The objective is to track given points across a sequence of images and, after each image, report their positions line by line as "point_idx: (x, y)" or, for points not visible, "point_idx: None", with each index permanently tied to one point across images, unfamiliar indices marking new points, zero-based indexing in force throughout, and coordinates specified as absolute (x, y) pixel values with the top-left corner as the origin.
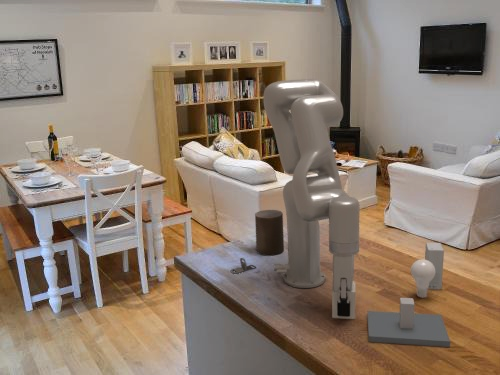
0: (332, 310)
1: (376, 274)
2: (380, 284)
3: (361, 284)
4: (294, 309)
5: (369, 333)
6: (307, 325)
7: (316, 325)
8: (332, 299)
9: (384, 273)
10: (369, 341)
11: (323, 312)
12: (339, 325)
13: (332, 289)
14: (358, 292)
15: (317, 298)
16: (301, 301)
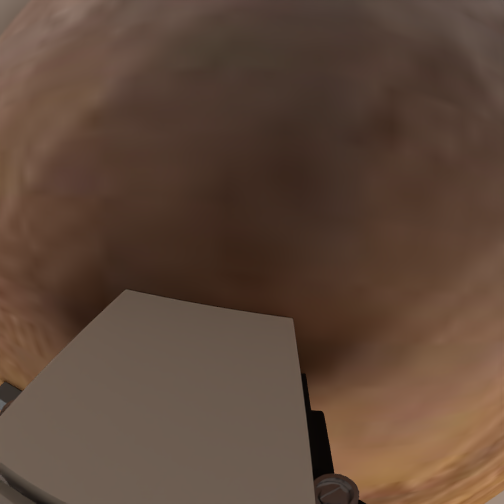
0: (95, 318)
1: (500, 456)
2: (442, 480)
3: (477, 436)
4: (264, 4)
5: (4, 403)
6: (43, 115)
7: (41, 173)
8: (35, 380)
9: (491, 470)
10: (4, 383)
11: (203, 232)
12: (58, 313)
13: (11, 470)
14: (427, 438)
15: (441, 211)
16: (401, 71)
